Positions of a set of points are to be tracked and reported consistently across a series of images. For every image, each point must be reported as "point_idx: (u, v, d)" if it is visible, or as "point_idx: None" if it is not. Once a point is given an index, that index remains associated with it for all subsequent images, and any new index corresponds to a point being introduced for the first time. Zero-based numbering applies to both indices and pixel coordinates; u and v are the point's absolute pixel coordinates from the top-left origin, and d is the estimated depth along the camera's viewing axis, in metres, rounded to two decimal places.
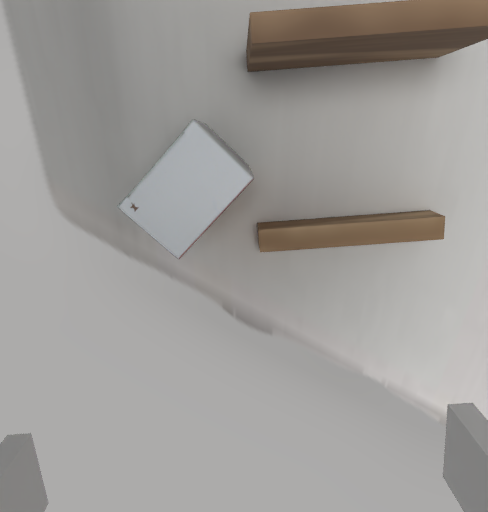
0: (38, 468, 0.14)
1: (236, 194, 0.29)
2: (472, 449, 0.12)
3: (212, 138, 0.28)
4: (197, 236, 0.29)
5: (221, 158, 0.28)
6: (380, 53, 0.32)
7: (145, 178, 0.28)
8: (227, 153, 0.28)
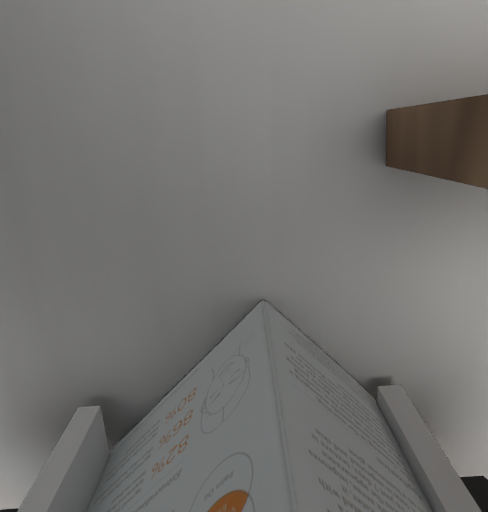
0: (105, 438, 0.15)
1: None
2: (393, 424, 0.13)
3: None
4: None
5: None
6: None
7: None
8: None
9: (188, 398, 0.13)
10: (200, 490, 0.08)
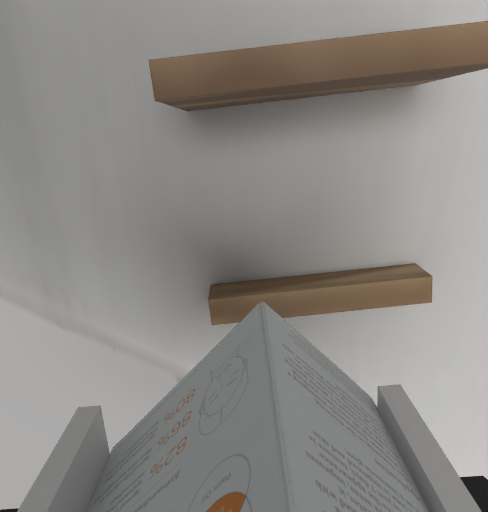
0: (105, 439, 0.15)
1: None
2: (393, 424, 0.13)
3: None
4: None
5: None
6: (341, 89, 0.25)
7: None
8: None
9: (187, 399, 0.13)
10: (198, 491, 0.08)
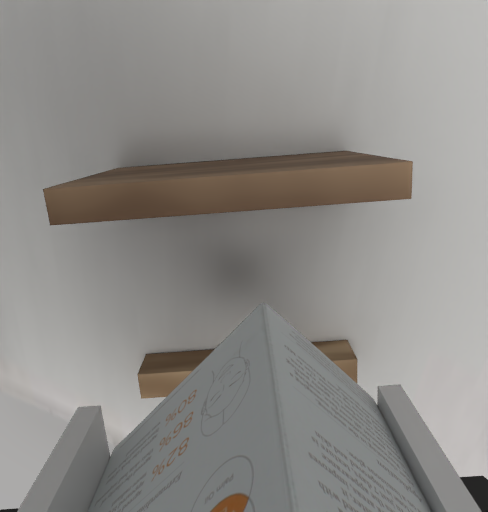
0: (105, 439, 0.15)
1: None
2: (393, 425, 0.13)
3: None
4: None
5: None
6: None
7: None
8: None
9: (189, 400, 0.13)
10: (200, 493, 0.08)
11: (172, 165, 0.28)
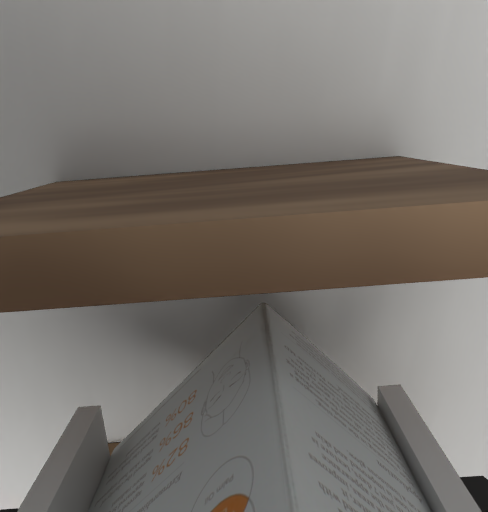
0: (105, 438, 0.15)
1: None
2: (393, 425, 0.13)
3: None
4: None
5: None
6: None
7: None
8: None
9: (189, 400, 0.13)
10: (201, 493, 0.08)
11: (134, 179, 0.18)
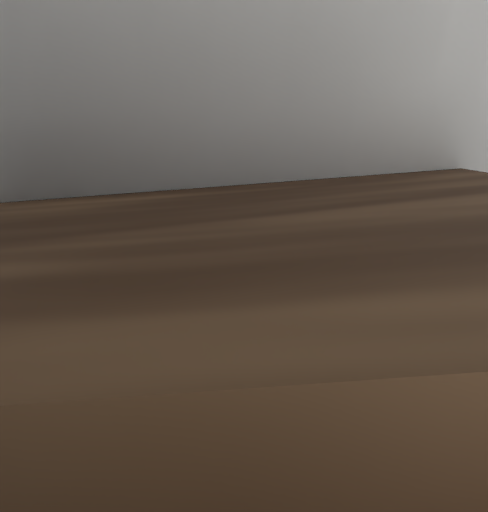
0: None
1: None
2: None
3: None
4: None
5: None
6: None
7: None
8: None
9: None
10: None
11: (90, 203, 0.13)
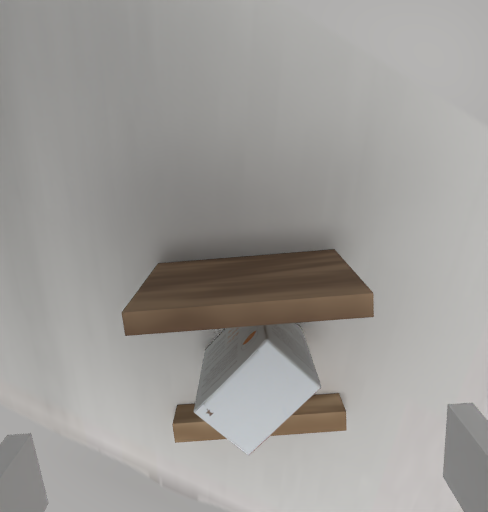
0: (38, 468, 0.14)
1: (304, 401, 0.31)
2: (472, 448, 0.12)
3: (284, 354, 0.30)
4: (267, 436, 0.31)
5: (292, 371, 0.30)
6: None
7: (220, 388, 0.31)
8: (297, 367, 0.30)
9: None
10: (244, 336, 0.34)
11: (201, 265, 0.37)
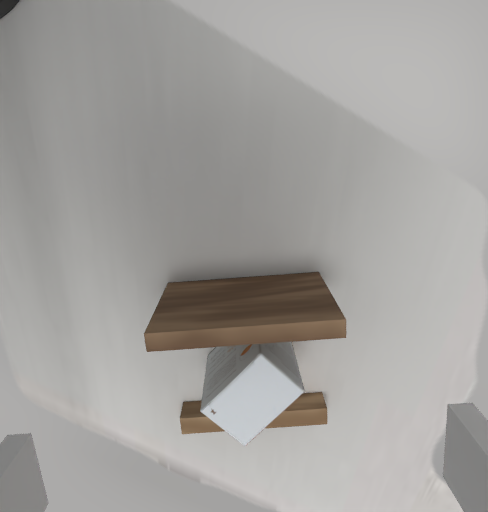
0: (38, 468, 0.14)
1: (291, 402, 0.38)
2: (472, 448, 0.12)
3: (274, 365, 0.37)
4: (260, 431, 0.38)
5: (281, 379, 0.37)
6: None
7: (222, 392, 0.37)
8: (285, 375, 0.37)
9: None
10: (242, 348, 0.41)
11: (205, 286, 0.44)
